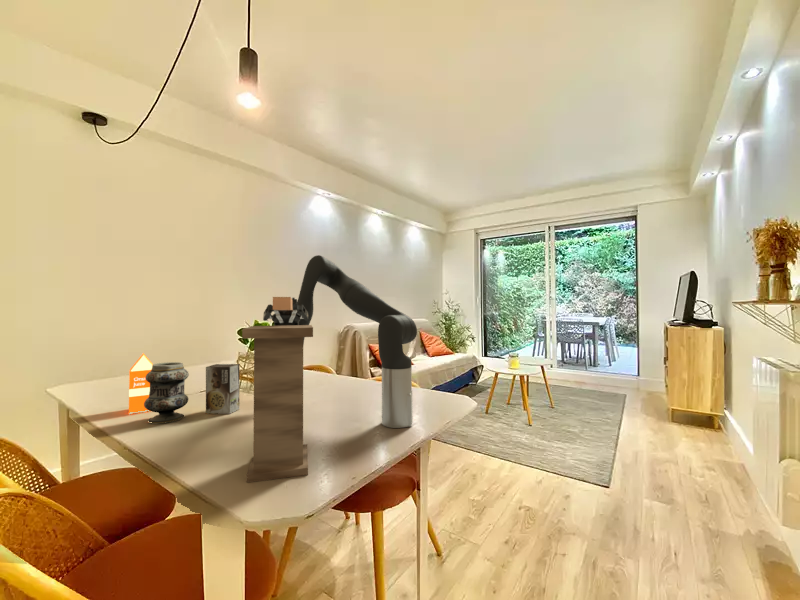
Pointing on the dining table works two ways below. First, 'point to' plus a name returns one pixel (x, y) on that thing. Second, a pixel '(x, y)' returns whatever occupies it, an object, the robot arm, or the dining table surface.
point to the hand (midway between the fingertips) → (285, 300)
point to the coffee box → (222, 388)
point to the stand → (278, 402)
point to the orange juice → (139, 384)
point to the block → (282, 303)
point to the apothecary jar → (166, 391)
